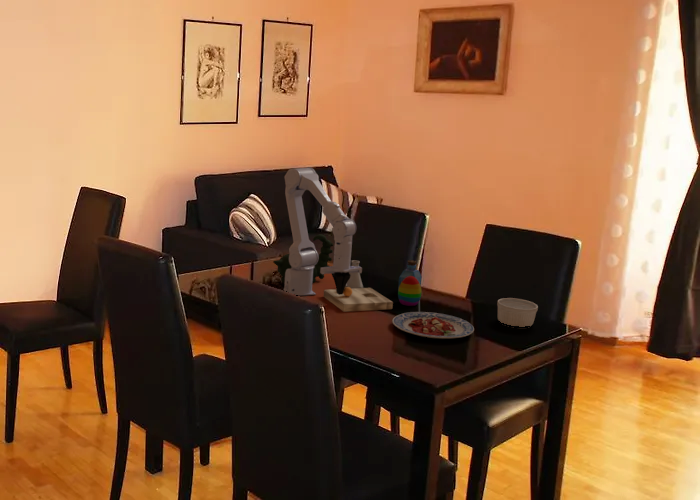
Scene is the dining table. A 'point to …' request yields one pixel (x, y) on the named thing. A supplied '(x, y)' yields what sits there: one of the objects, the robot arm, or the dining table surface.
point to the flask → (355, 277)
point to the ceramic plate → (433, 325)
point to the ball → (347, 291)
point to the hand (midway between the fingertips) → (339, 293)
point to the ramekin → (516, 312)
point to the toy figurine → (322, 262)
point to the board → (358, 300)
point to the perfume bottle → (410, 272)
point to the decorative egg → (409, 291)
